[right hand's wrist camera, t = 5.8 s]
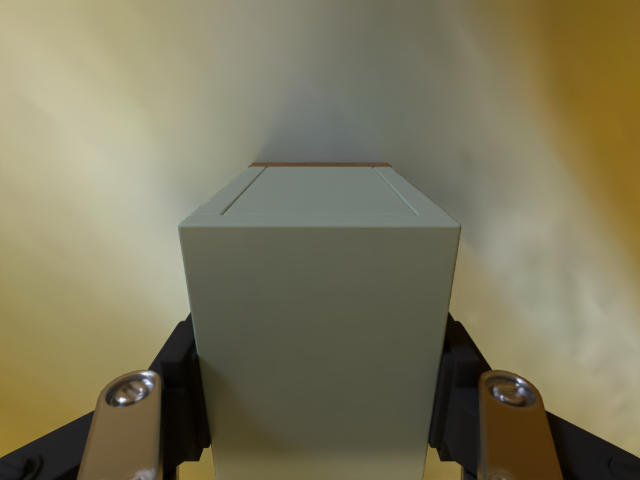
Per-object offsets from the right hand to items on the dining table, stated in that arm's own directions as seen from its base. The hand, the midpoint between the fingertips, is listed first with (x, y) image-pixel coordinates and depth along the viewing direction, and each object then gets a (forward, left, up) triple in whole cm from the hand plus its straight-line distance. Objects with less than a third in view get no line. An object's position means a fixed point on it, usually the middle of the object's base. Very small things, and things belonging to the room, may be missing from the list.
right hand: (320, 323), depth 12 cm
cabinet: (+4, -3, -5) cm, 8 cm away
